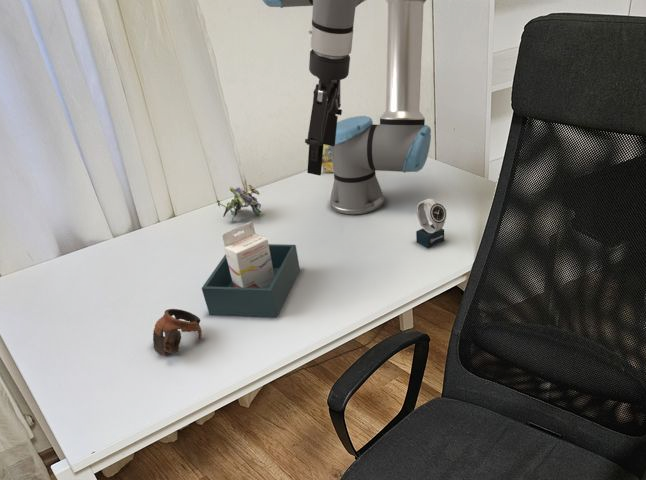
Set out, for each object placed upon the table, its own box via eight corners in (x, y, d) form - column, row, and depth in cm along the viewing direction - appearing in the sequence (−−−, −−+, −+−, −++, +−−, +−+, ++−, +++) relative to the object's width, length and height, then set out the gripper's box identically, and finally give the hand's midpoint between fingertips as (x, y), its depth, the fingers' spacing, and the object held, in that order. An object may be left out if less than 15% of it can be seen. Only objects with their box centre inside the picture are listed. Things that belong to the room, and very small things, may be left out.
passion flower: (261, 232, 171) (271, 207, 161) (225, 238, 165) (234, 212, 155) (246, 201, 174) (256, 174, 164) (211, 205, 168) (219, 178, 158)
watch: (433, 251, 144) (432, 209, 137) (411, 240, 149) (410, 199, 143) (449, 243, 147) (450, 202, 140) (428, 232, 152) (428, 192, 145)
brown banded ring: (153, 338, 125) (161, 302, 122) (197, 349, 128) (207, 314, 125) (143, 360, 114) (153, 321, 112) (193, 371, 117) (203, 334, 114)
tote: (239, 268, 144) (232, 243, 140) (300, 270, 142) (295, 244, 137) (209, 314, 130) (201, 288, 125) (276, 317, 127) (271, 290, 122)
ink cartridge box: (247, 299, 131) (232, 241, 122) (234, 292, 134) (219, 234, 125) (277, 283, 136) (265, 225, 127) (264, 276, 139) (252, 219, 129)
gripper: (325, 28, 118) (317, 130, 133) (293, 70, 100) (288, 183, 115) (361, 35, 118) (350, 137, 132) (336, 79, 100) (326, 190, 115)
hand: (321, 158), depth 124 cm, fingers open, 13 cm apart
